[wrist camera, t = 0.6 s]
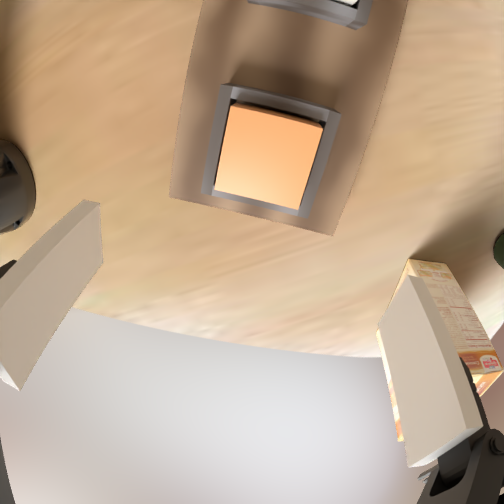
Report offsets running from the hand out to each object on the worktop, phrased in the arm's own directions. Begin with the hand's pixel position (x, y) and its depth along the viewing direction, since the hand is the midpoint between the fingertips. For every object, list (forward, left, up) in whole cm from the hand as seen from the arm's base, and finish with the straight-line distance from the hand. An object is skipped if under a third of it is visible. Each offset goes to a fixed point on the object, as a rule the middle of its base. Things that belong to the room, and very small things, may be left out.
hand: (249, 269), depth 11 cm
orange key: (0, 0, -17) cm, 17 cm away
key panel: (0, +9, -24) cm, 26 cm away
